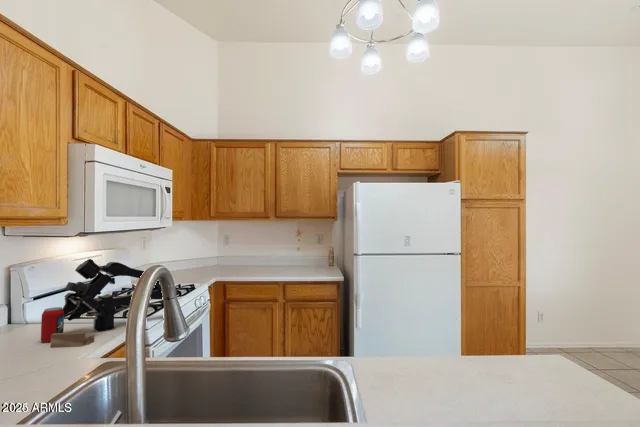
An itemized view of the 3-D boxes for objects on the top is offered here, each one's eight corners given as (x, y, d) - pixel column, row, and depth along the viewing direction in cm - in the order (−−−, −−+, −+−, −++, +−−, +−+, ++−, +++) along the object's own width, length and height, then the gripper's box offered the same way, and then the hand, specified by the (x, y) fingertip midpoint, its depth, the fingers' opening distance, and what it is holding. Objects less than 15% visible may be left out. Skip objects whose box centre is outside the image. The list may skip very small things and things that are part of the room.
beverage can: (64, 340, 127) (66, 308, 128) (42, 344, 122) (43, 311, 123) (61, 336, 132) (62, 306, 133) (39, 340, 127) (40, 309, 128)
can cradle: (60, 342, 124) (60, 330, 125) (94, 341, 125) (94, 329, 125) (48, 347, 119) (48, 334, 119) (84, 346, 119) (84, 333, 120)
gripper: (70, 273, 141) (37, 304, 131) (90, 275, 131) (55, 309, 121) (91, 289, 147) (60, 320, 137) (111, 292, 137) (80, 326, 127)
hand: (63, 318), depth 130 cm, fingers open, 9 cm apart
